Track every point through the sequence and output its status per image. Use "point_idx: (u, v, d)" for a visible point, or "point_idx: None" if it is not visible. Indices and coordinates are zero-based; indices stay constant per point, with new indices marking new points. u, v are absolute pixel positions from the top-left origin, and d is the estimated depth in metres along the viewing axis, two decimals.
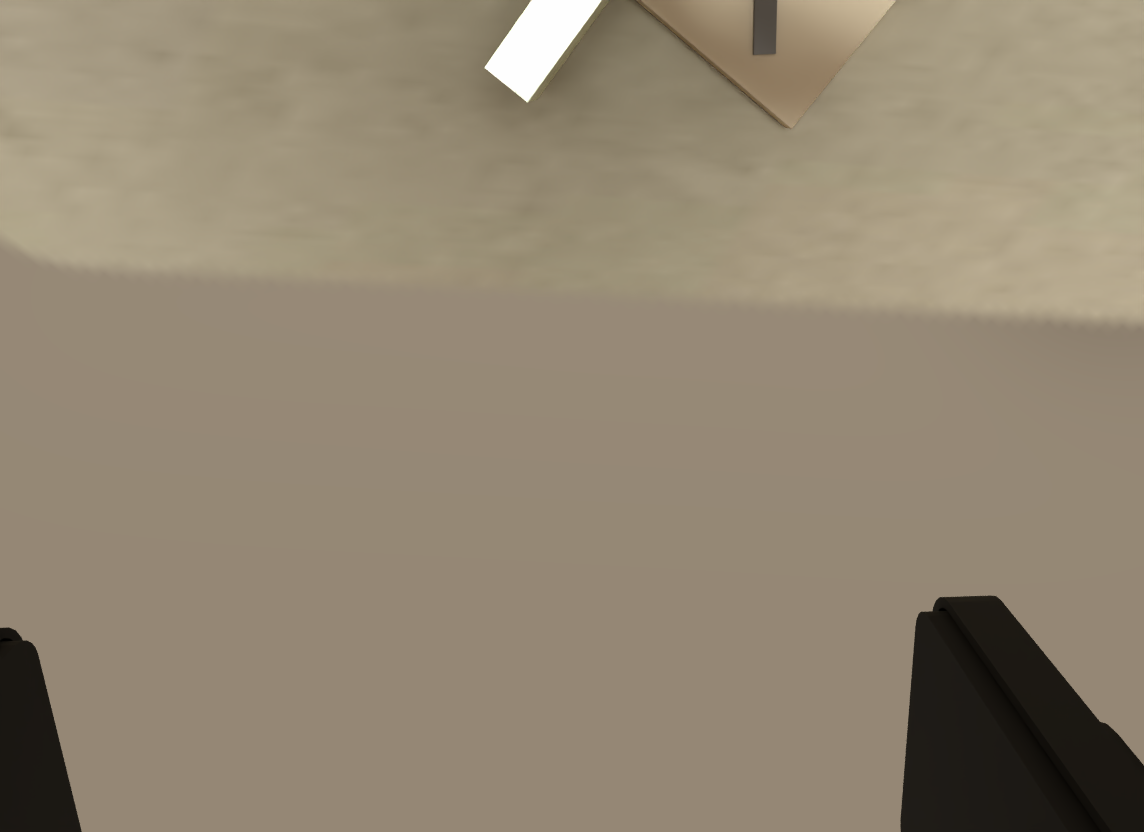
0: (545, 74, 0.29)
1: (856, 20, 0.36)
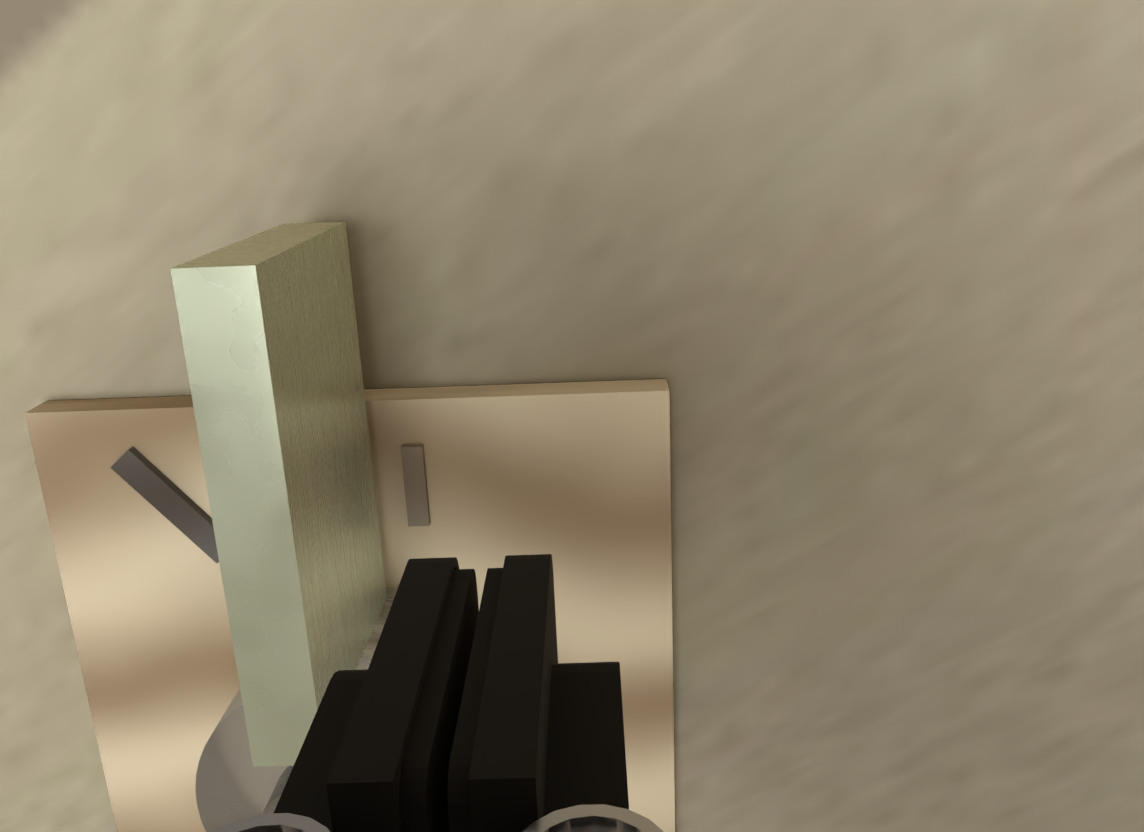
0: (180, 319, 0.19)
1: (78, 551, 0.29)
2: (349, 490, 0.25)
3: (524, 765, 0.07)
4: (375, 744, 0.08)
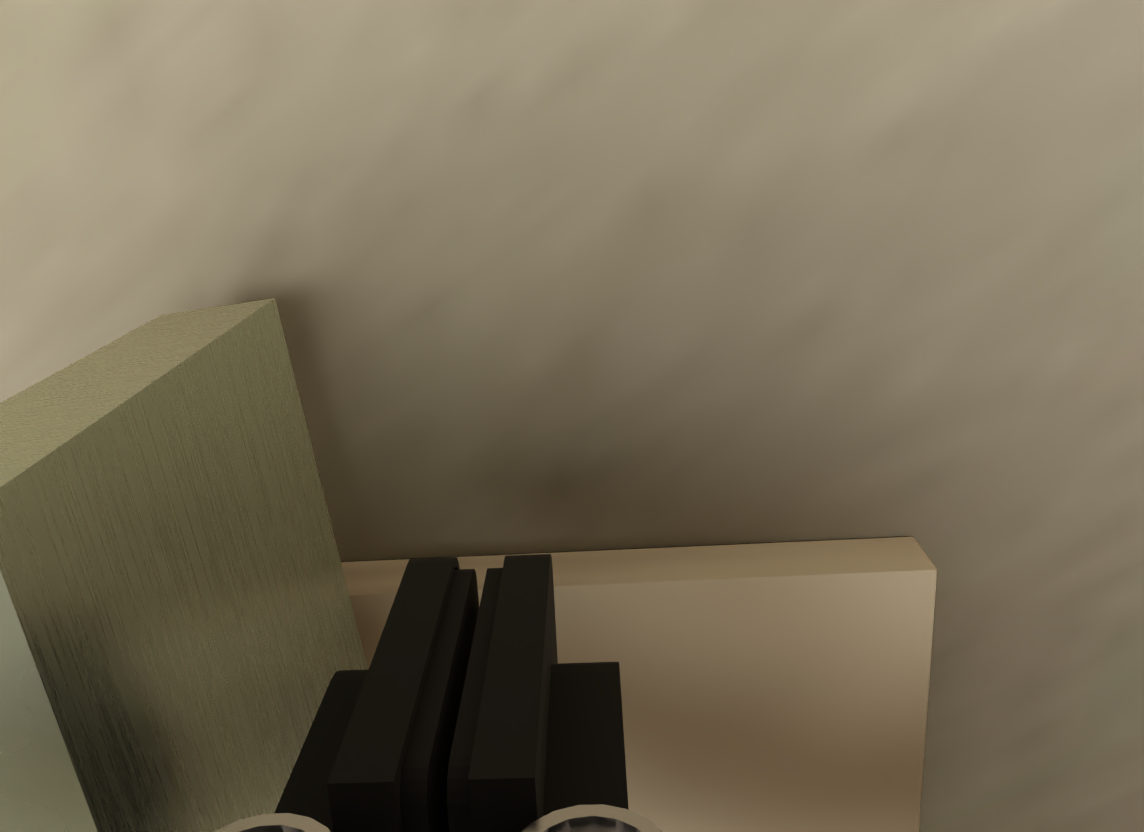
0: None
1: None
2: None
3: (523, 765, 0.07)
4: (376, 744, 0.08)
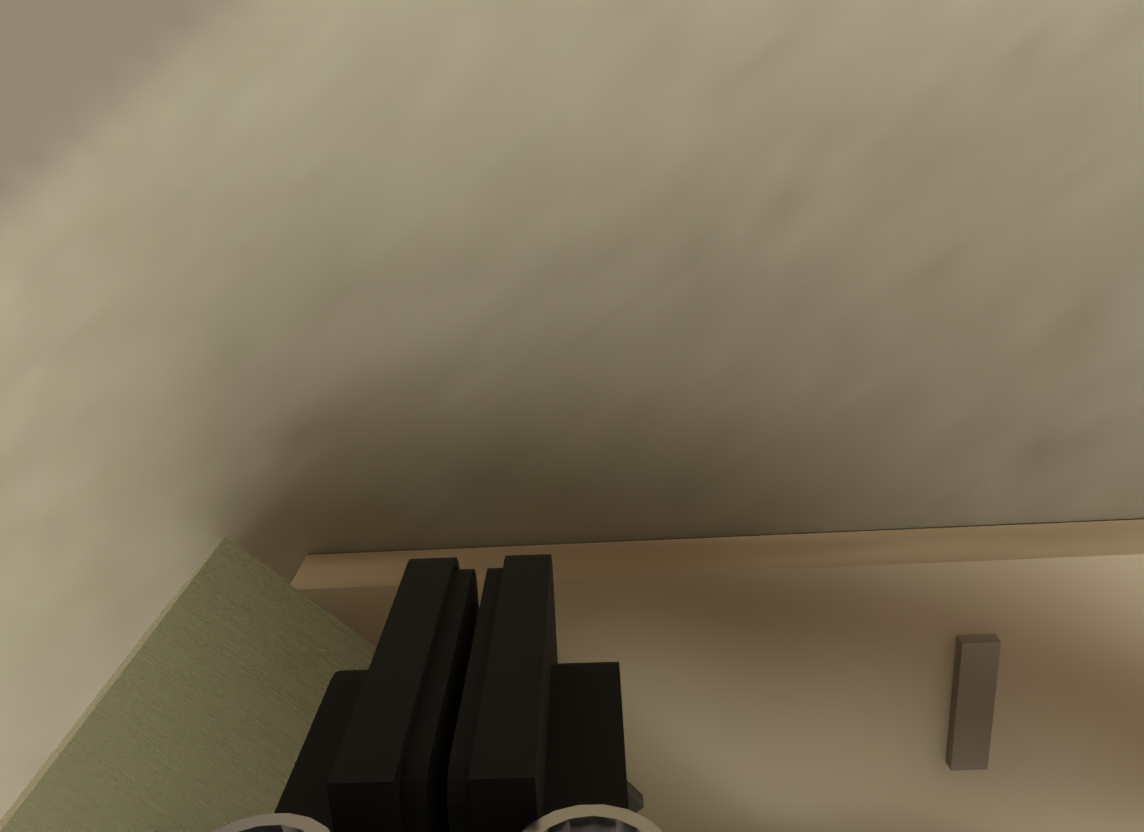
0: None
1: None
2: None
3: (522, 765, 0.07)
4: (375, 744, 0.08)
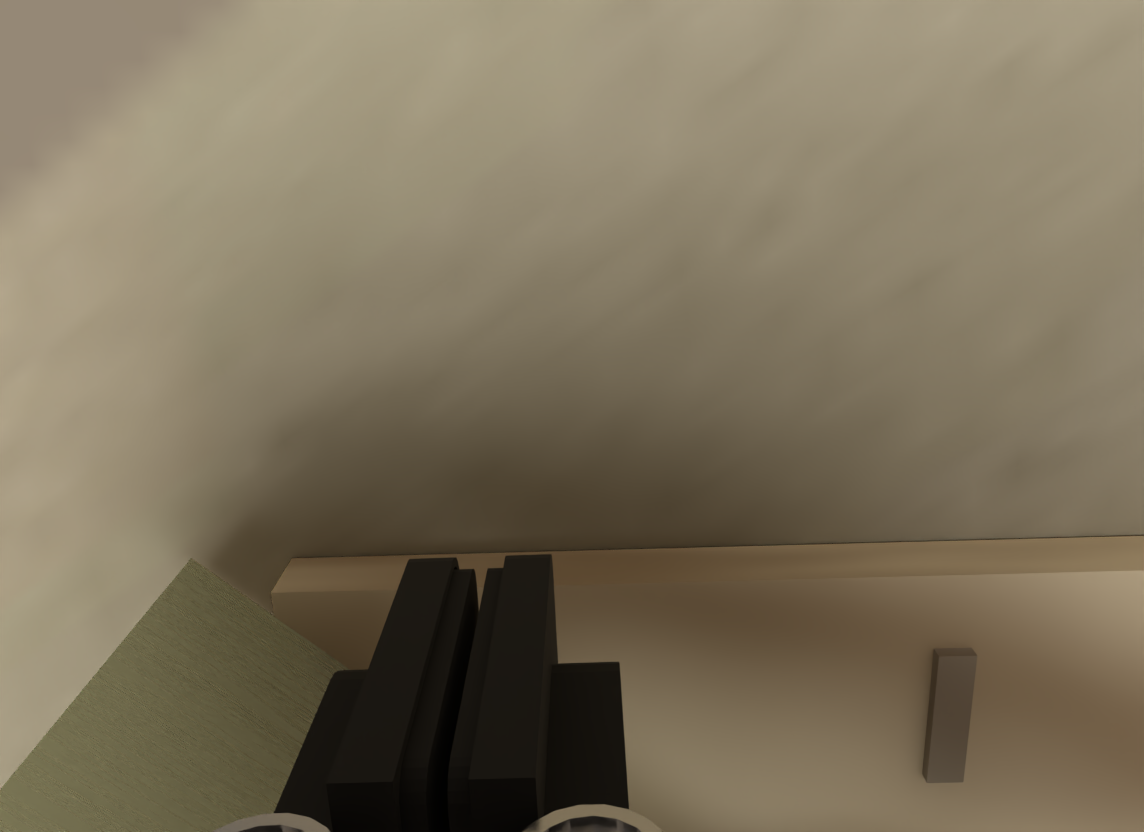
0: None
1: None
2: None
3: (523, 765, 0.07)
4: (375, 744, 0.08)
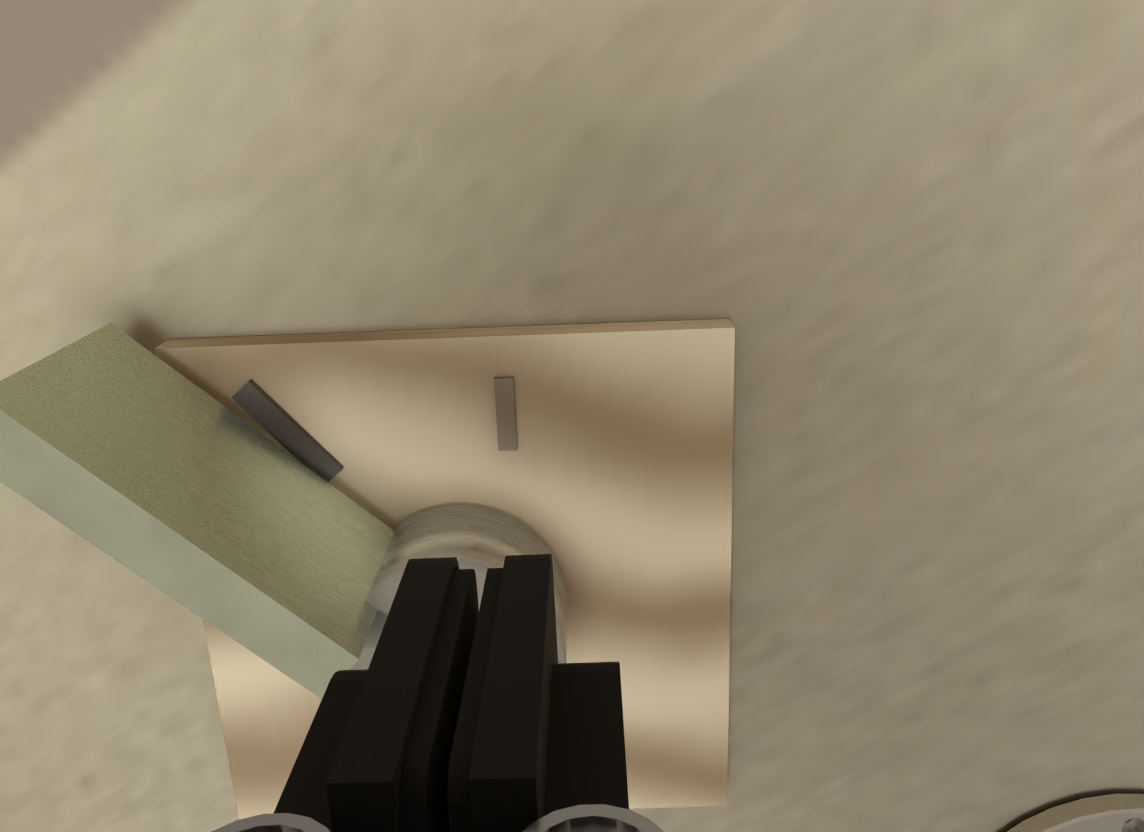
0: None
1: None
2: (260, 481, 0.28)
3: (524, 764, 0.07)
4: (375, 744, 0.08)
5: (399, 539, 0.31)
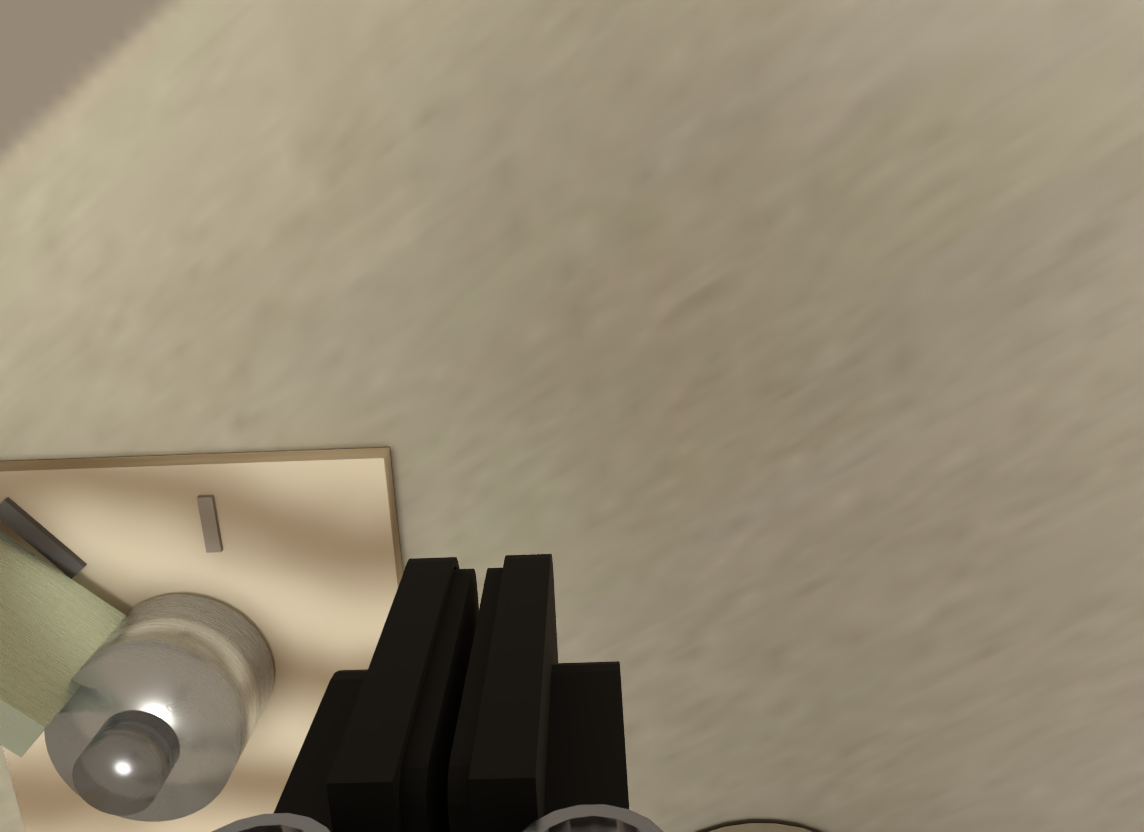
0: None
1: None
2: None
3: (524, 765, 0.07)
4: (375, 744, 0.08)
5: (122, 624, 0.39)
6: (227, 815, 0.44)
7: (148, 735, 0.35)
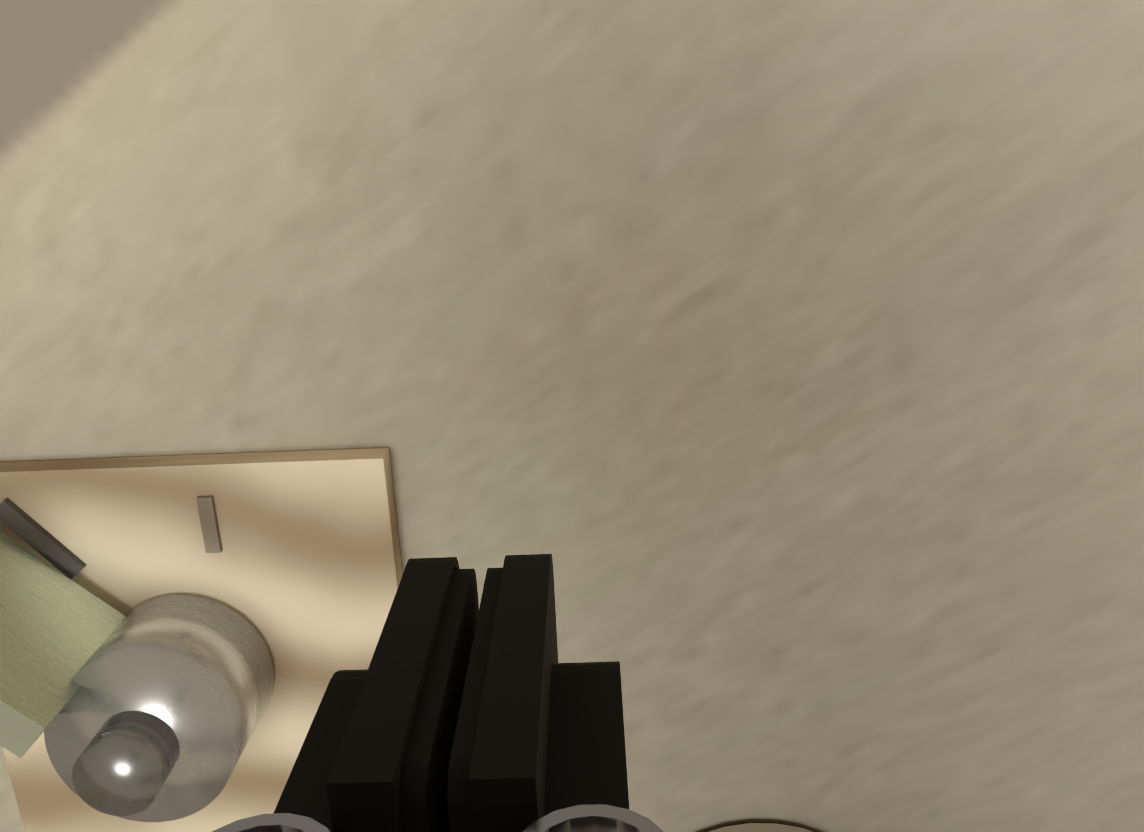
0: None
1: None
2: None
3: (523, 764, 0.07)
4: (375, 744, 0.08)
5: (121, 625, 0.39)
6: (227, 815, 0.44)
7: (148, 736, 0.35)
